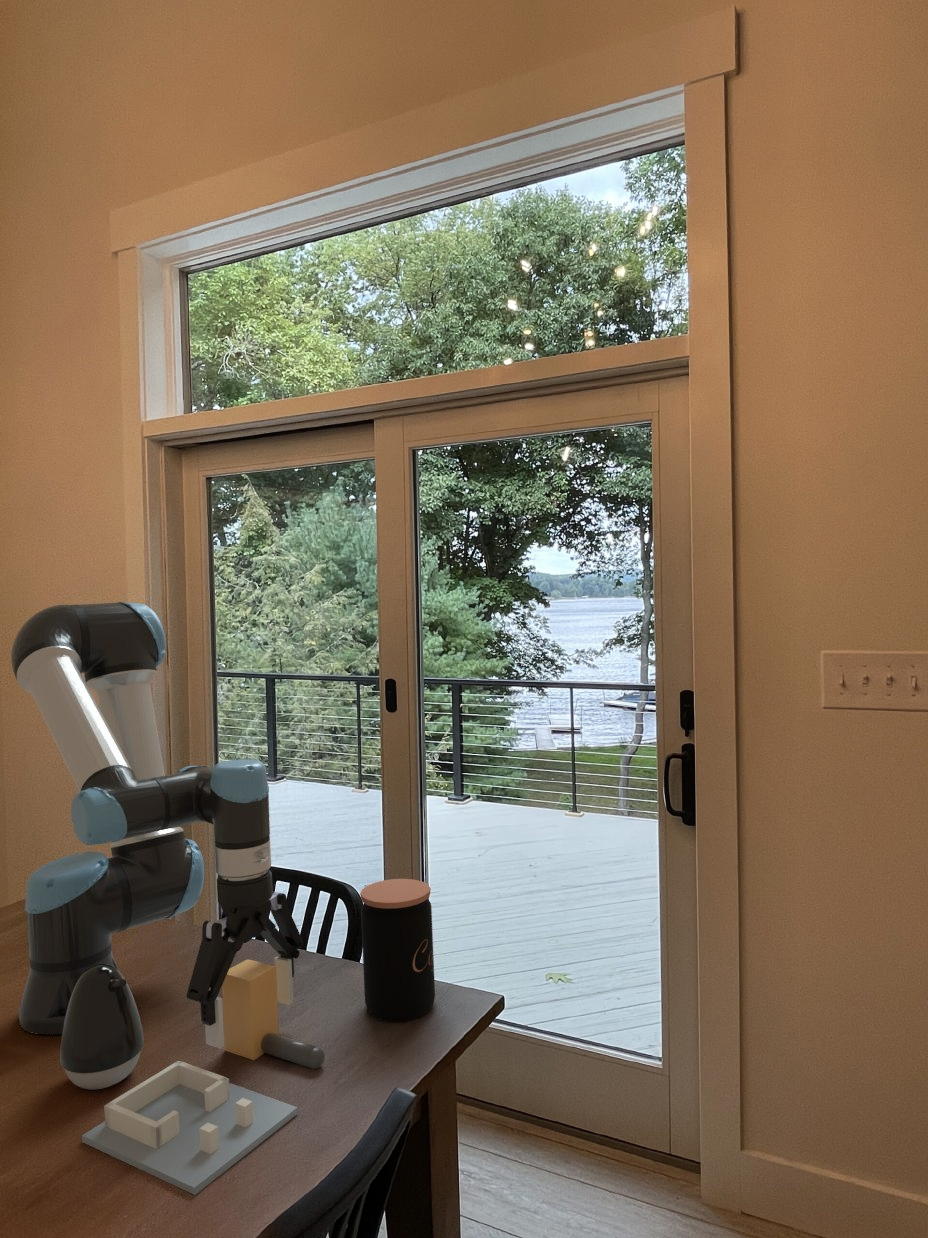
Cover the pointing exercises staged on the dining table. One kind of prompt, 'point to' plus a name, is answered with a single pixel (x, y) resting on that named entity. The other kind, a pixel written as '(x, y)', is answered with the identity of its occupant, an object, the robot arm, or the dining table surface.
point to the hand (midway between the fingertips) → (251, 1023)
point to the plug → (259, 1017)
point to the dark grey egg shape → (100, 1030)
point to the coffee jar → (397, 949)
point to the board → (187, 1125)
